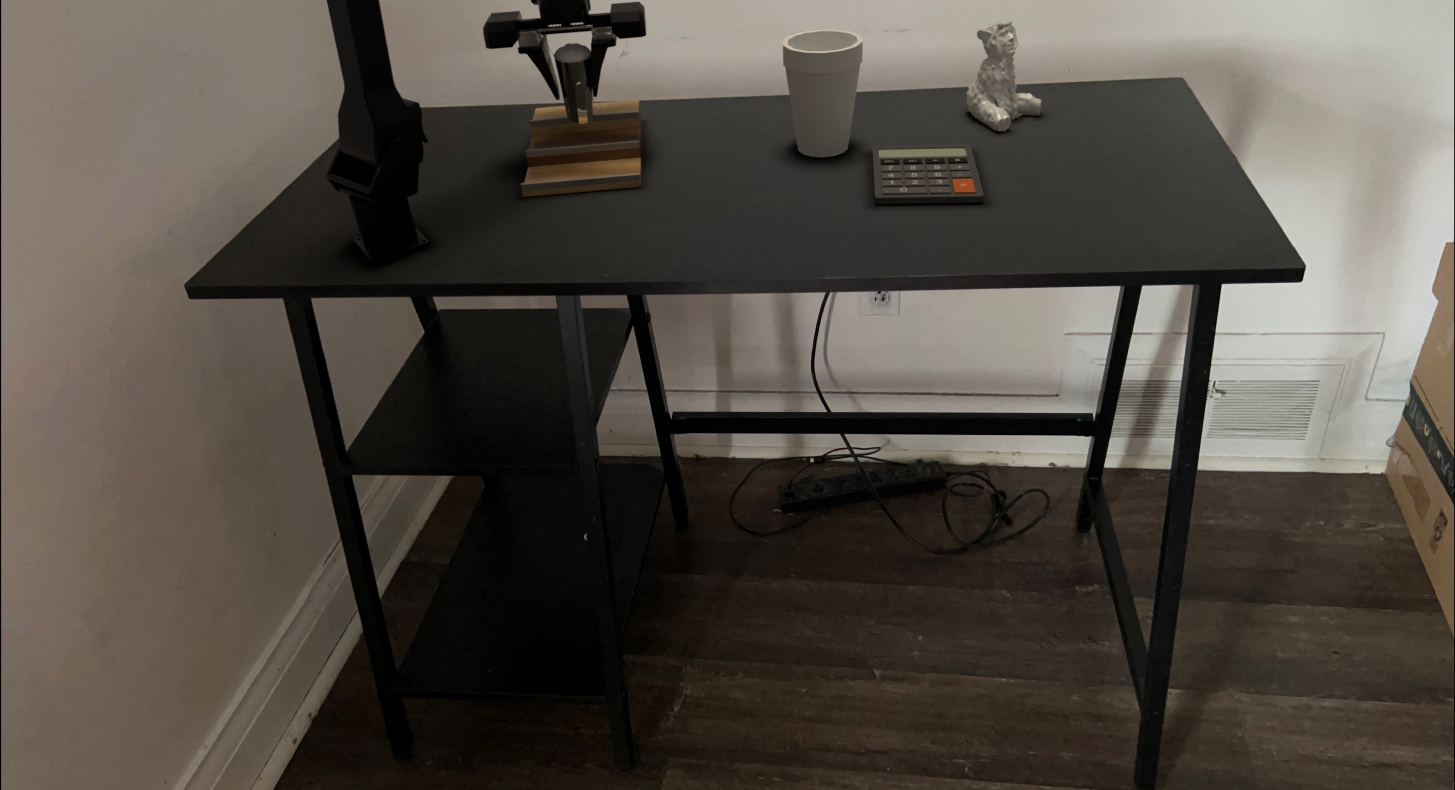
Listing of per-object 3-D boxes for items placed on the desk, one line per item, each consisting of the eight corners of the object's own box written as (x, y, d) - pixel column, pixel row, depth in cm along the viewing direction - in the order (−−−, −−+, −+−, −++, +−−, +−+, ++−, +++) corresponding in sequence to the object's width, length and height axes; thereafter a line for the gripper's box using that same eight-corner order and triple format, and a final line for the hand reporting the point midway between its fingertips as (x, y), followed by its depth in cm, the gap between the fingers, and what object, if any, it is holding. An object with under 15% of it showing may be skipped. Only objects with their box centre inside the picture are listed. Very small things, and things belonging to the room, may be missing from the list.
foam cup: (874, 152, 117) (877, 44, 109) (805, 167, 114) (804, 58, 107) (838, 128, 124) (839, 25, 117) (773, 142, 122) (769, 38, 114)
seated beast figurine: (1001, 135, 119) (1012, 36, 112) (945, 119, 124) (952, 24, 117) (1044, 114, 124) (1057, 18, 117) (989, 100, 129) (998, 7, 122)
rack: (641, 187, 113) (637, 154, 110) (522, 197, 113) (516, 165, 110) (641, 122, 131) (638, 93, 128) (539, 131, 130) (534, 102, 128)
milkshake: (553, 118, 120) (541, 36, 114) (595, 112, 121) (585, 31, 116) (559, 130, 117) (547, 46, 111) (602, 123, 118) (593, 40, 112)
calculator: (875, 196, 104) (872, 144, 116) (874, 204, 105) (872, 151, 117) (984, 194, 103) (970, 142, 115) (983, 202, 103) (969, 149, 115)
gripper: (639, -59, 115) (652, 72, 124) (484, -47, 115) (508, 83, 124) (638, -40, 106) (652, 99, 115) (470, -27, 106) (498, 112, 115)
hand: (577, 97), depth 117 cm, fingers closed on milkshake, 4 cm apart
